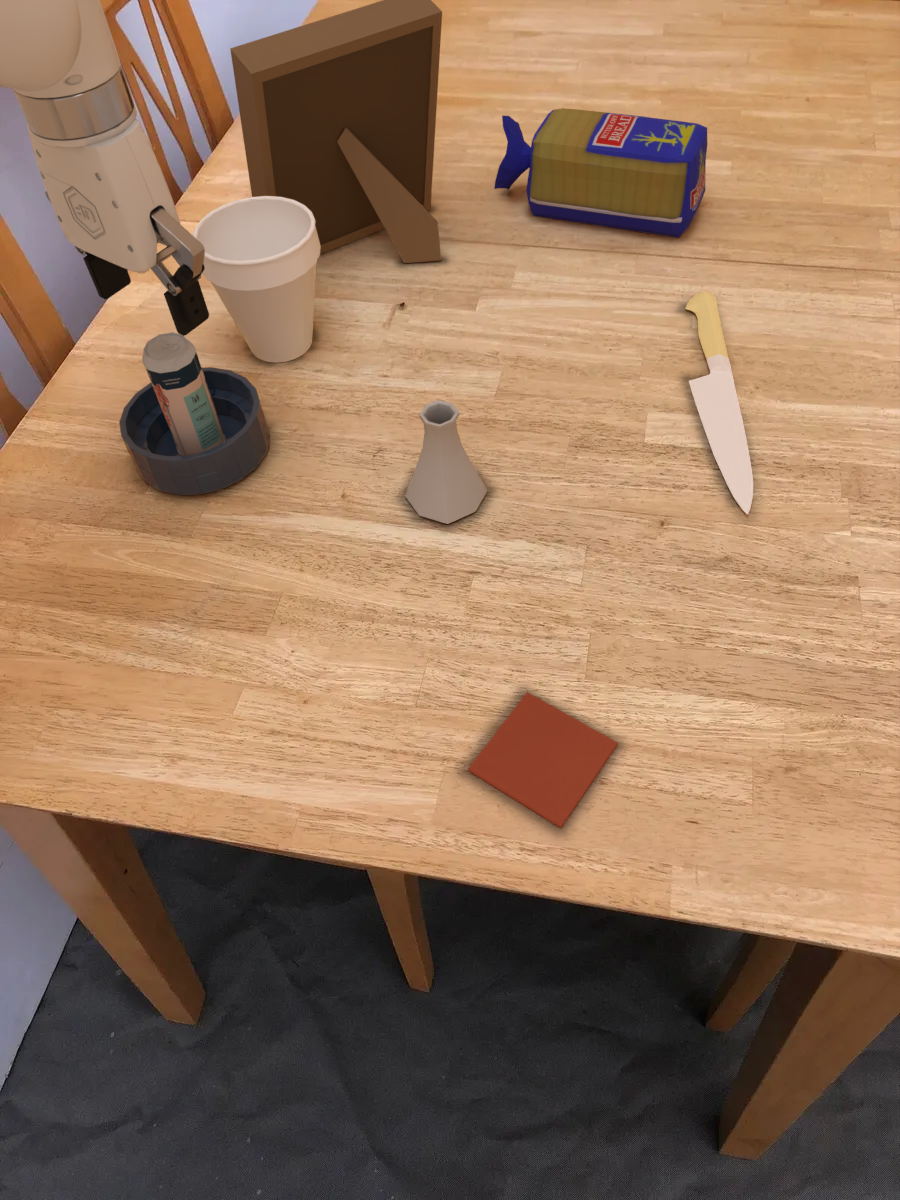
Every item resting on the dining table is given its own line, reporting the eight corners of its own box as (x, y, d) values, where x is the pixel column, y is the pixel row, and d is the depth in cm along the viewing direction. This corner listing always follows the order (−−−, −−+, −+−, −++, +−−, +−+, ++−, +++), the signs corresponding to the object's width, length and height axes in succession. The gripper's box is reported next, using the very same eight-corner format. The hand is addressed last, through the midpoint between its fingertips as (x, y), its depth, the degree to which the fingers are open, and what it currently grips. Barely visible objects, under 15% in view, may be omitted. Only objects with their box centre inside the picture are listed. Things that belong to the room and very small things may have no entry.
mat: (560, 828, 65) (560, 826, 65) (468, 771, 68) (467, 768, 68) (617, 745, 69) (617, 742, 69) (527, 694, 72) (527, 691, 72)
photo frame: (261, 256, 112) (206, 30, 93) (412, 196, 119) (391, -27, 99) (318, 313, 104) (272, 80, 85) (477, 246, 111) (468, 15, 91)
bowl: (203, 518, 86) (188, 480, 82) (109, 464, 91) (90, 426, 87) (297, 436, 92) (287, 396, 88) (204, 390, 97) (191, 351, 93)
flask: (391, 499, 86) (378, 416, 78) (444, 457, 89) (437, 373, 81) (448, 536, 83) (440, 454, 75) (501, 491, 86) (499, 408, 78)
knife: (715, 514, 82) (768, 507, 81) (671, 293, 102) (713, 285, 101) (716, 524, 83) (768, 517, 82) (672, 303, 103) (714, 295, 102)
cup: (277, 297, 107) (250, 183, 96) (359, 331, 102) (341, 214, 91) (202, 355, 101) (164, 240, 90) (286, 393, 96) (256, 276, 85)
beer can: (187, 429, 93) (149, 328, 83) (232, 431, 92) (199, 330, 83) (171, 462, 90) (130, 362, 81) (218, 465, 89) (182, 364, 80)
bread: (687, 246, 108) (701, 159, 100) (488, 215, 115) (486, 131, 107) (706, 202, 114) (720, 116, 106) (515, 175, 120) (515, 92, 112)
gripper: (-41, 96, 67) (55, 299, 81) (118, 155, 60) (193, 366, 74) (41, 55, 70) (119, 256, 84) (200, 106, 64) (257, 316, 77)
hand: (154, 307), depth 79 cm, fingers open, 9 cm apart
